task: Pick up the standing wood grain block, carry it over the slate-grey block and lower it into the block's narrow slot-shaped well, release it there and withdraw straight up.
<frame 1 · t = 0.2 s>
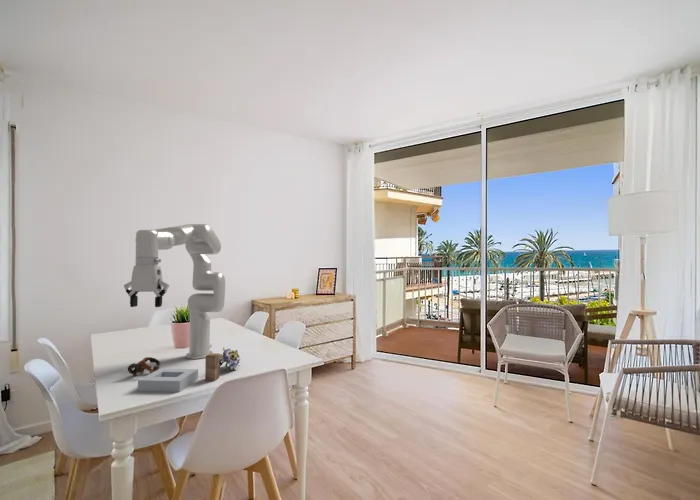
hand: (146, 306, 134), 31 cm above the table, tool pointing down, fingers open, 9 cm apart
dark brown looped piece: (143, 376, 147), on the table
wood grain block: (212, 379, 142), on the table
well block: (169, 384, 136), on the table
passion flower: (227, 369, 155), on the table
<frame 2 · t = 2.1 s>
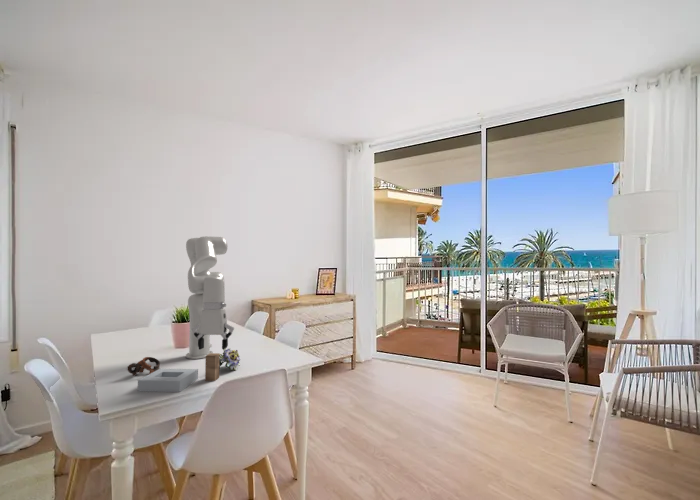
hand: (212, 348, 142), 12 cm above the table, tool pointing down, fingers open, 9 cm apart
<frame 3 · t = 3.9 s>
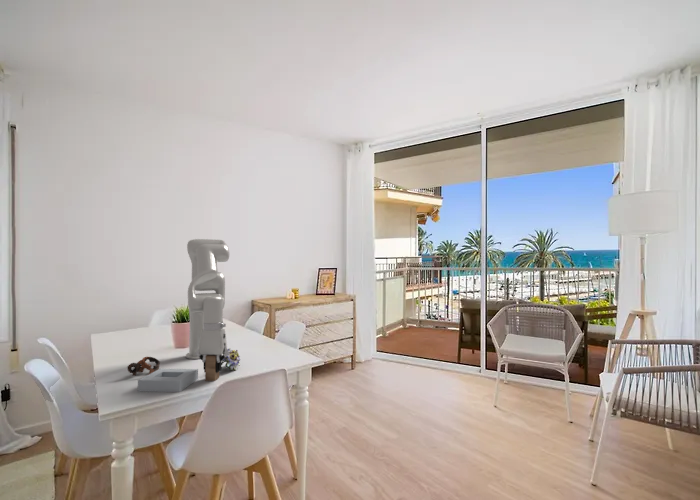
hand: (212, 371, 143), 3 cm above the table, tool pointing down, fingers closed on wood grain block, 4 cm apart
wood grain block: (212, 379, 142), on the table, touching gripper
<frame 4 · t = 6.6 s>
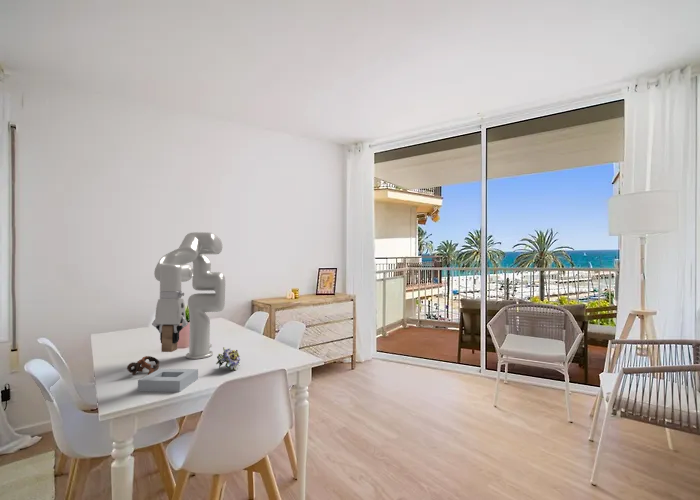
hand: (169, 342, 136), 17 cm above the table, tool pointing down, fingers closed on wood grain block, 4 cm apart
wood grain block: (169, 350, 136), point 13 cm above the table, touching gripper
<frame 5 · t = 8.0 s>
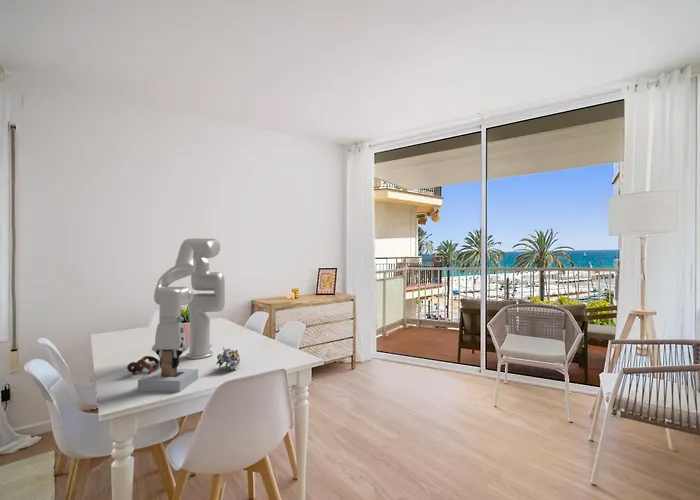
hand: (169, 366, 136), 7 cm above the table, tool pointing down, fingers closed on wood grain block, 4 cm apart
wood grain block: (169, 375, 136), point 4 cm above the table, touching gripper
when the fingers open (5 cm above the table, at t = 9.1 s): wood grain block drops 1 cm, resting in well block.
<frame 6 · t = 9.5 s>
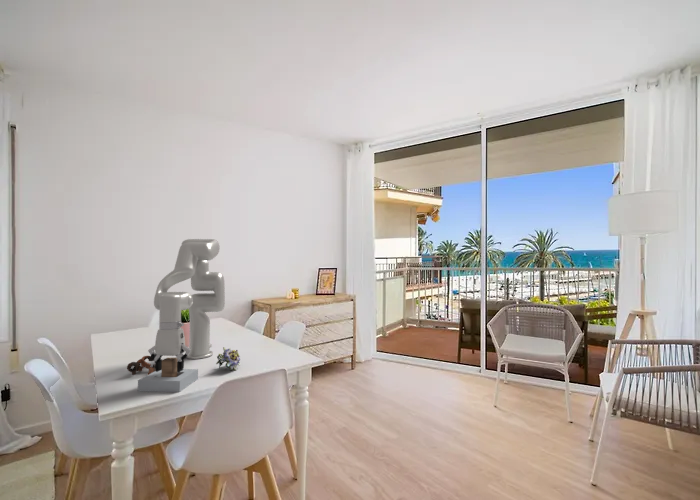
hand: (169, 370, 136), 5 cm above the table, tool pointing down, fingers open, 8 cm apart
wood grain block: (169, 384, 136), resting in well block
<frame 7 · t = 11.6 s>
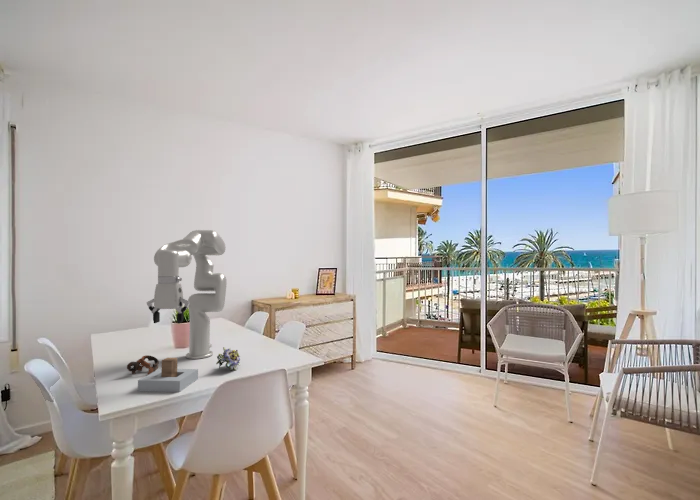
hand: (168, 322, 142), 23 cm above the table, tool pointing down, fingers open, 9 cm apart
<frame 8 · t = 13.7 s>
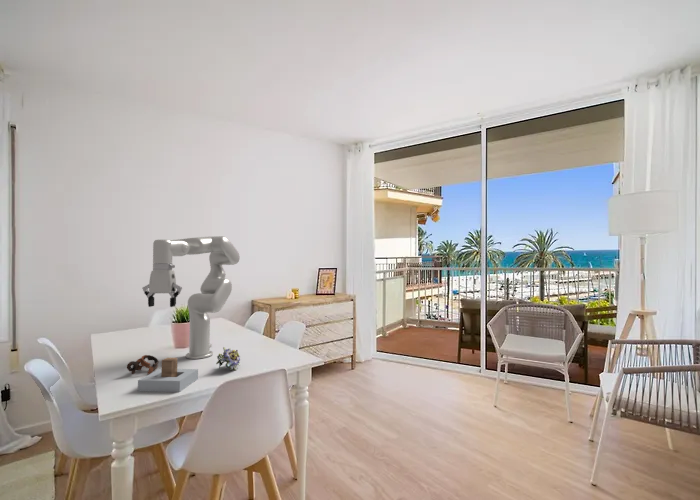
hand: (162, 306, 154), 28 cm above the table, tool pointing down, fingers open, 9 cm apart
at the end: wood grain block inside the target area on the well block (0.0 cm from its centre), point 0.0 cm above the well block's base; wood grain block tilted 0°; the gripper is holding nothing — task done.
